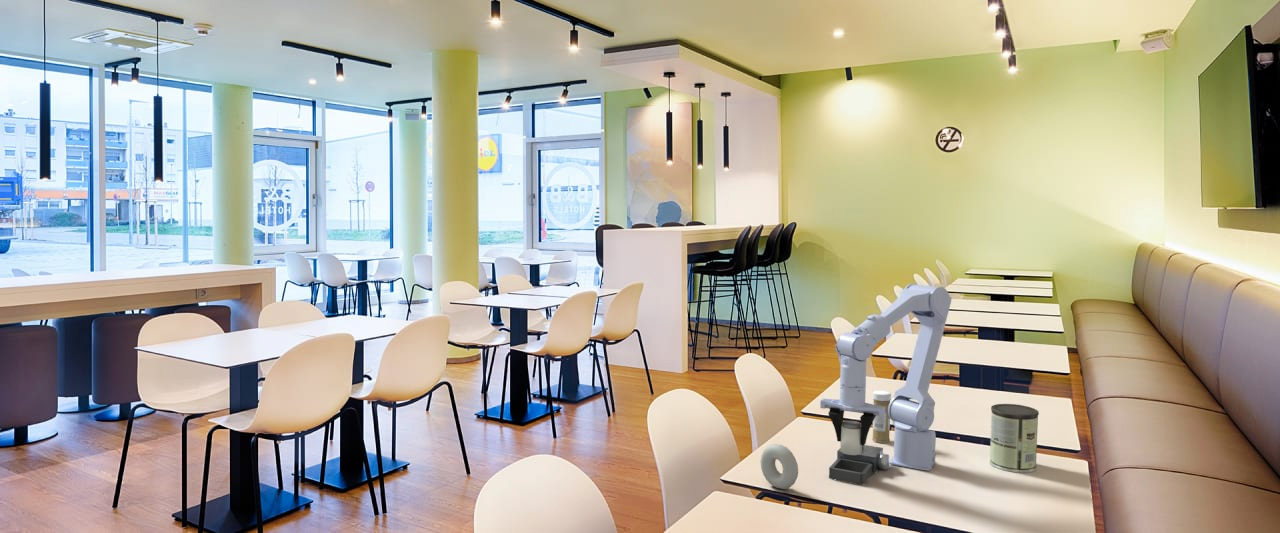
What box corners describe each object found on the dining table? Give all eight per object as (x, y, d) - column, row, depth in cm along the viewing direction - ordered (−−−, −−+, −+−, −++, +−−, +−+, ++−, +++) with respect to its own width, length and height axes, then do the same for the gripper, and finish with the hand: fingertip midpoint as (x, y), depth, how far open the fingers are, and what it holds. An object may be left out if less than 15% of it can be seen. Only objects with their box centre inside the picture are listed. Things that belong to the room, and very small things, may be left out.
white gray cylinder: (864, 450, 173) (865, 422, 172) (858, 456, 169) (859, 427, 168) (843, 447, 175) (844, 419, 175) (837, 452, 171) (838, 424, 171)
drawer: (891, 465, 180) (891, 445, 180) (883, 475, 173) (884, 454, 173) (845, 457, 186) (846, 438, 185) (836, 467, 179) (837, 446, 178)
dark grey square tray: (873, 472, 175) (873, 462, 175) (863, 485, 167) (864, 474, 167) (839, 466, 179) (839, 456, 179) (828, 478, 171) (828, 468, 171)
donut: (756, 483, 168) (757, 440, 168) (767, 479, 170) (767, 437, 170) (790, 496, 161) (791, 452, 160) (801, 493, 163) (802, 448, 162)
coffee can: (996, 455, 187) (999, 401, 186) (1041, 465, 180) (1044, 408, 179) (982, 466, 180) (985, 409, 179) (1029, 476, 173) (1031, 417, 172)
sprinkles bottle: (893, 441, 198) (894, 392, 197) (882, 444, 196) (883, 395, 195) (879, 437, 202) (880, 389, 201) (868, 440, 199) (869, 391, 198)
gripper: (816, 384, 171) (815, 441, 172) (880, 392, 164) (879, 452, 165) (825, 378, 177) (824, 433, 178) (888, 386, 170) (886, 443, 171)
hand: (851, 442), depth 172 cm, fingers closed on white gray cylinder, 5 cm apart
